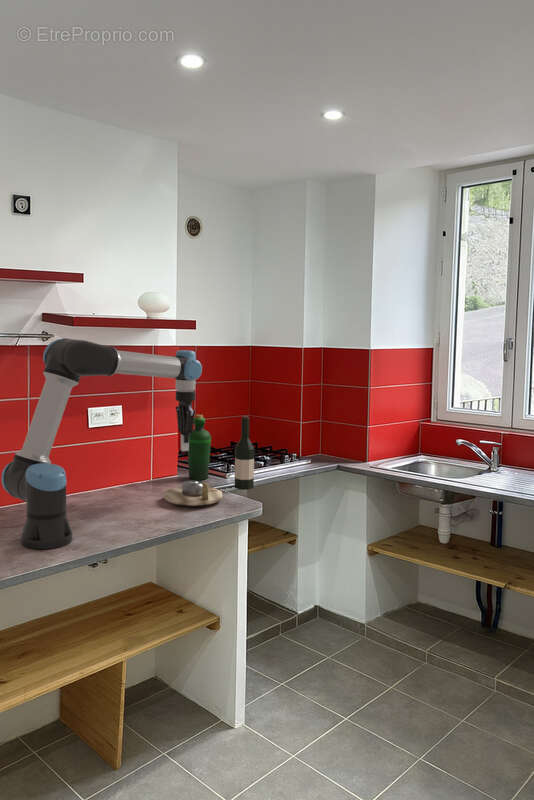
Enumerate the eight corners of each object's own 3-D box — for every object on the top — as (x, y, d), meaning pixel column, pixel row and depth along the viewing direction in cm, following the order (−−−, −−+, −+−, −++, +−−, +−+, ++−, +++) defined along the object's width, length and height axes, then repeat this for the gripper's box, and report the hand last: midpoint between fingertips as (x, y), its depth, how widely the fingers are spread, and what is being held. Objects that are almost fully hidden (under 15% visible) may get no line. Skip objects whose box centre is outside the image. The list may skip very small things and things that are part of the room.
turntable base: (183, 509, 240) (183, 505, 240) (165, 498, 253) (165, 495, 253) (221, 503, 249) (221, 500, 249) (202, 493, 262) (202, 490, 262)
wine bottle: (256, 485, 277) (258, 415, 273) (250, 490, 269) (252, 418, 265) (237, 483, 279) (239, 414, 275) (231, 488, 271) (232, 417, 267)
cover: (188, 497, 244) (188, 485, 244) (178, 492, 252) (178, 480, 251) (209, 495, 249) (210, 483, 249) (199, 489, 257) (199, 478, 256)
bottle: (212, 476, 291) (213, 413, 288) (208, 481, 281) (209, 417, 277) (189, 474, 292) (189, 412, 289) (183, 480, 282) (184, 416, 278)
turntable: (179, 508, 236) (180, 488, 235) (155, 494, 254) (155, 475, 253) (232, 500, 248) (233, 481, 247) (205, 487, 266) (205, 469, 265)
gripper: (201, 392, 249) (200, 452, 252) (187, 388, 260) (186, 446, 263) (183, 392, 245) (183, 454, 248) (169, 389, 256) (169, 448, 259)
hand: (184, 450), depth 255 cm, fingers closed
